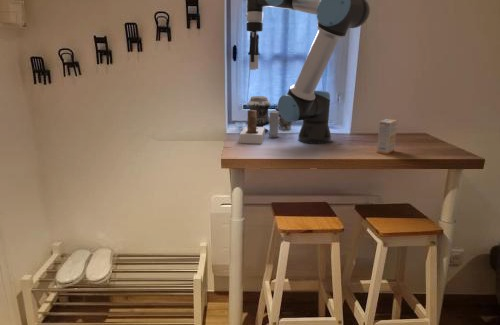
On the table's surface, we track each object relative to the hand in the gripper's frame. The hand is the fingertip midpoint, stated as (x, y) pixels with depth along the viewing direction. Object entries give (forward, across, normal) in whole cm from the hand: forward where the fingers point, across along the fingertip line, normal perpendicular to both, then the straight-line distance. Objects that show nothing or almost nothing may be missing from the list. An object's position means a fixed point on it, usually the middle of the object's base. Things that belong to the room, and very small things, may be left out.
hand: (254, 69), depth 177 cm
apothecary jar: (+32, -9, +2) cm, 33 cm away
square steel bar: (+32, +4, +10) cm, 34 cm away
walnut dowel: (+32, +16, +1) cm, 36 cm away
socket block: (+32, +11, +1) cm, 34 cm away
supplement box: (+32, +28, +58) cm, 72 cm away
